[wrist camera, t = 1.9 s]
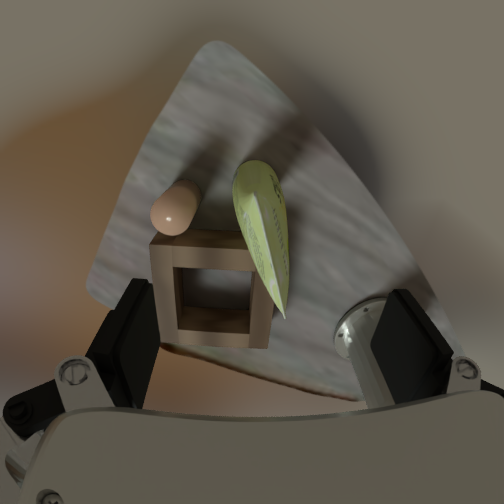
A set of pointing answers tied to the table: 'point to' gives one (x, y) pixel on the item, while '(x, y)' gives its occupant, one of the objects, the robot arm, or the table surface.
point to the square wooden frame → (207, 319)
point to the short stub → (176, 207)
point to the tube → (264, 225)
